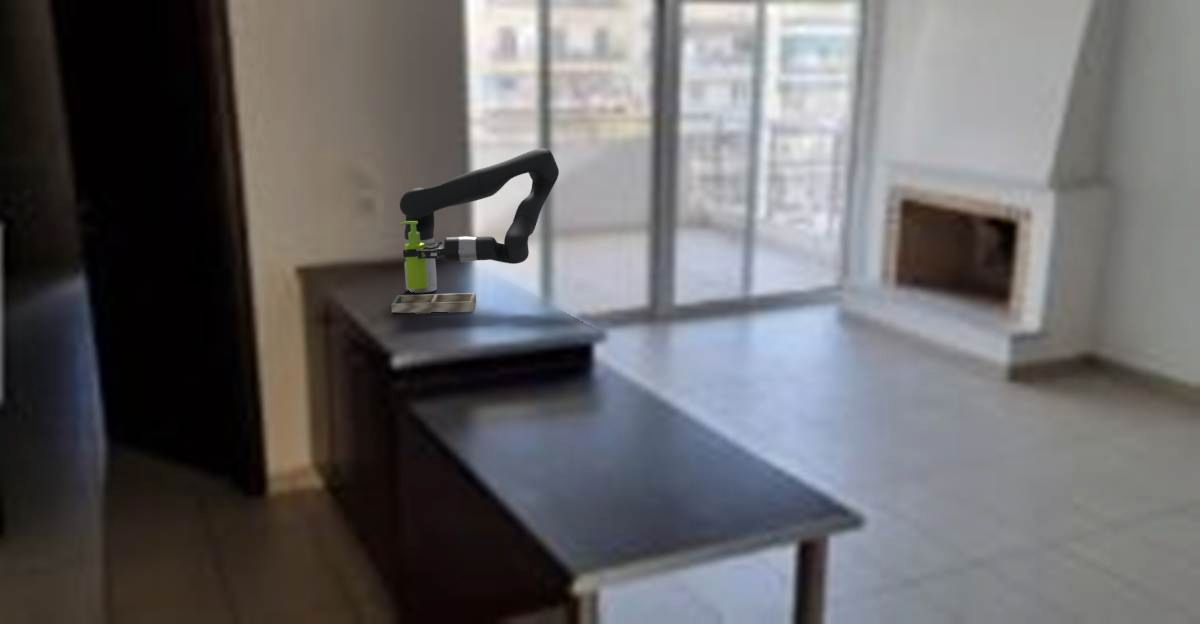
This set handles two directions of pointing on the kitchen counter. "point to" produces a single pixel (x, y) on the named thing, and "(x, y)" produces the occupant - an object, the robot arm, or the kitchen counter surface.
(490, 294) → the kitchen counter surface
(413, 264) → the soap dispenser
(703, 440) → the kitchen counter surface
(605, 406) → the kitchen counter surface
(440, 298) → the caddy
